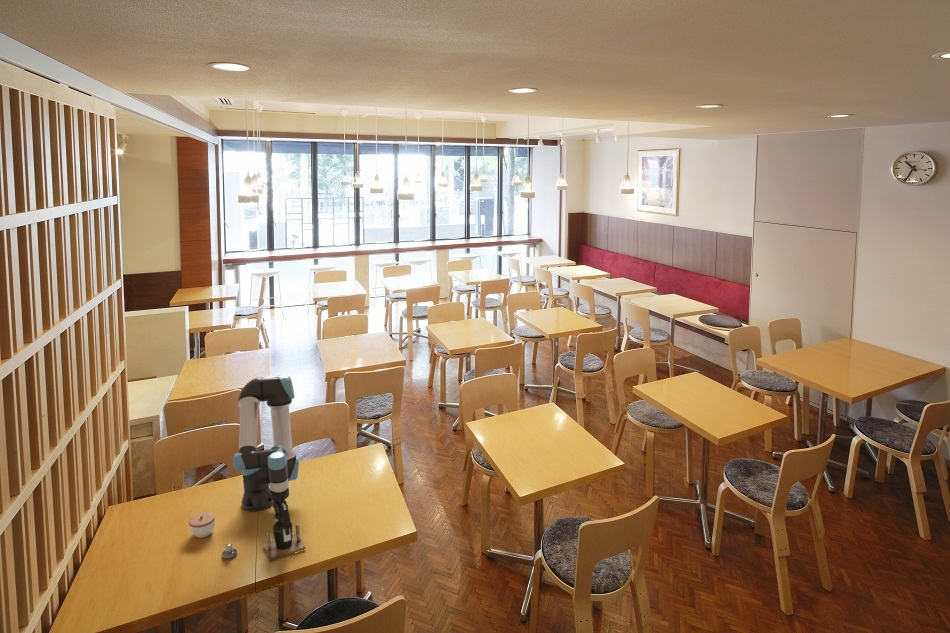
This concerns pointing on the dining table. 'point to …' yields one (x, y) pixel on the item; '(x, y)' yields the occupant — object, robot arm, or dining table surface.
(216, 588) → the dining table surface
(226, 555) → the ring nut stud
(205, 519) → the lidded jar
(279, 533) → the potion bottle
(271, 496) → the robot arm
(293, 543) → the rack
